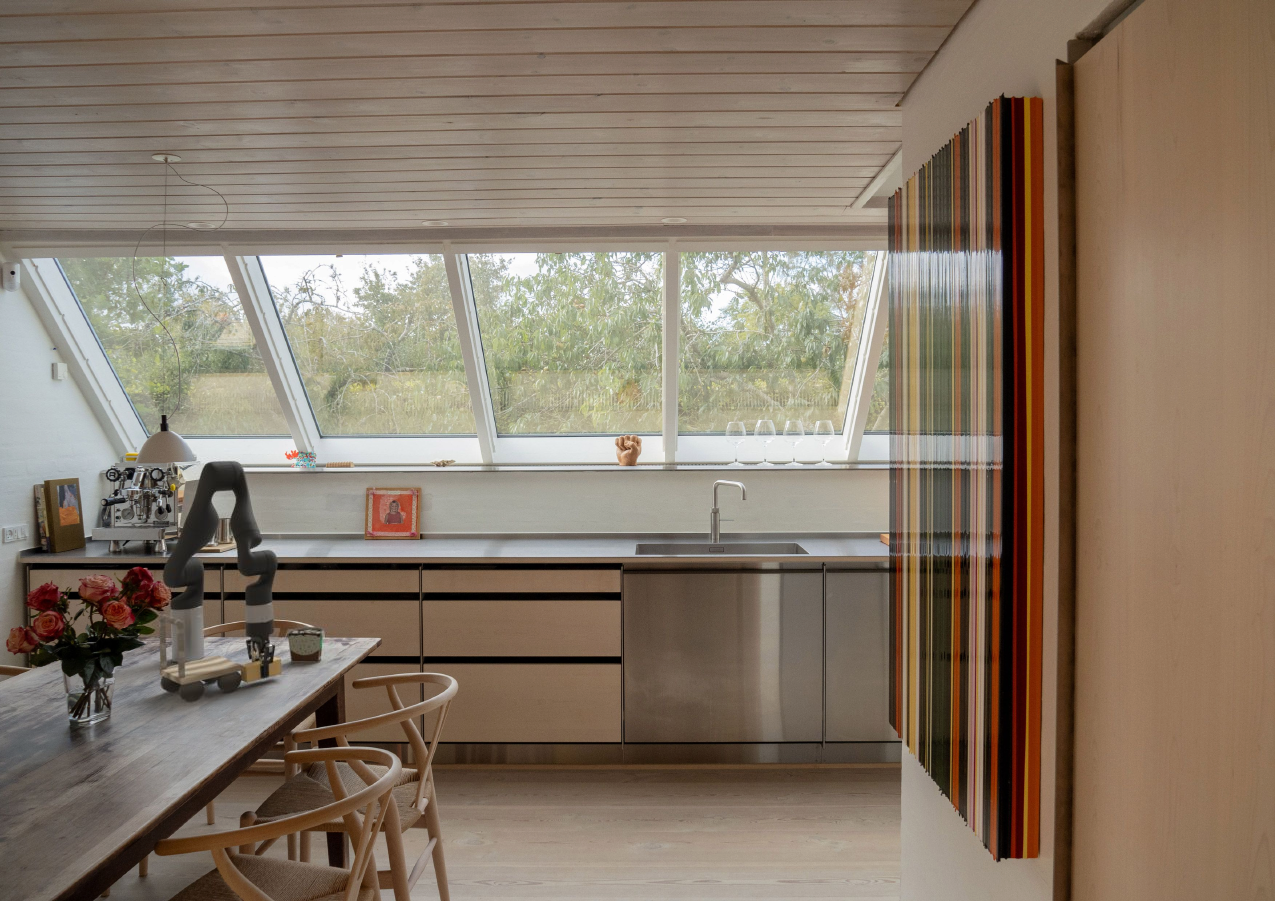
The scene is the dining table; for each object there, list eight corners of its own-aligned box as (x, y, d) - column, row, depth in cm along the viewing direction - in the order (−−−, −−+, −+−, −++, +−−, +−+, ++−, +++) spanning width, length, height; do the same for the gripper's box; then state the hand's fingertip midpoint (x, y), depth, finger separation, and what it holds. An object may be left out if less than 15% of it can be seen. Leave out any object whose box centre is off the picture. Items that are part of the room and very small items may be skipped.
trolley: (159, 693, 221) (156, 614, 220) (219, 678, 233) (216, 603, 233) (181, 705, 211) (179, 621, 210) (242, 689, 223) (240, 610, 223)
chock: (240, 680, 226) (240, 664, 226) (274, 671, 234) (274, 656, 234) (247, 682, 224) (246, 667, 224) (281, 673, 231) (280, 659, 231)
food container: (332, 656, 255) (331, 626, 255) (323, 662, 249) (322, 631, 249) (297, 656, 256) (296, 626, 256) (286, 661, 250) (286, 631, 250)
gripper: (235, 617, 230) (237, 675, 230) (257, 624, 221) (259, 684, 221) (261, 612, 236) (262, 668, 236) (283, 619, 227) (285, 677, 227)
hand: (261, 675), depth 229 cm, fingers closed on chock, 4 cm apart
